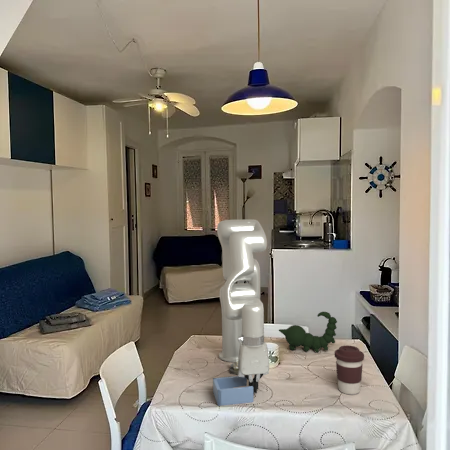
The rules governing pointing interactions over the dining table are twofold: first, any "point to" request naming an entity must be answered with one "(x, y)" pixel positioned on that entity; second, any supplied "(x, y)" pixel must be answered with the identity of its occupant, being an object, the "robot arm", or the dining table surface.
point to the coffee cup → (349, 369)
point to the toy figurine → (310, 335)
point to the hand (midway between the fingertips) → (253, 391)
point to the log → (234, 368)
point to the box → (232, 390)
